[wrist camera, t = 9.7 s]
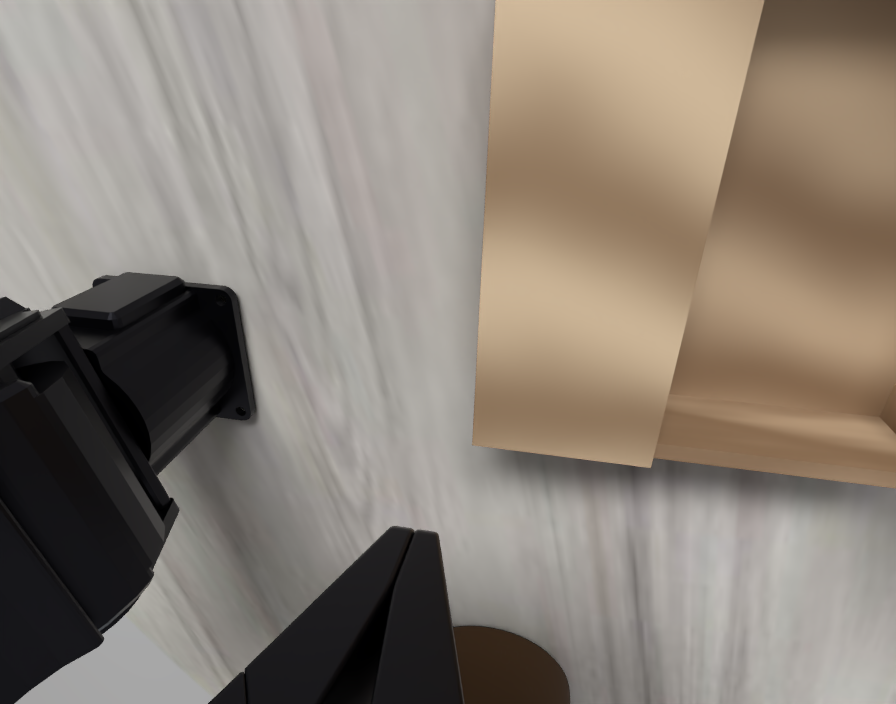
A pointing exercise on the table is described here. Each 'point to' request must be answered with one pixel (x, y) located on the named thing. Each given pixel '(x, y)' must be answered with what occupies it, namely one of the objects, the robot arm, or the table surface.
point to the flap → (599, 213)
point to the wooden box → (800, 260)
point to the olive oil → (507, 669)
